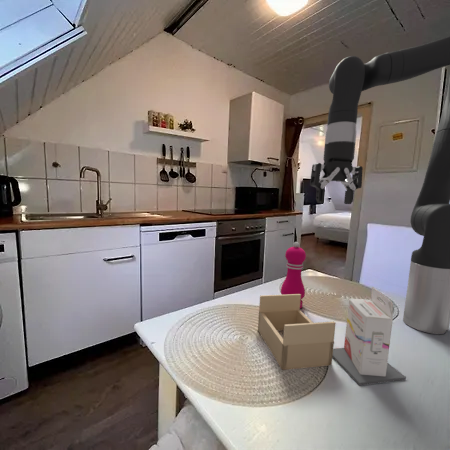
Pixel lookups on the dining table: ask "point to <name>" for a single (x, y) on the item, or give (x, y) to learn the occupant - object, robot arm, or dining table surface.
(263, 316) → the carton
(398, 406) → the dining table surface
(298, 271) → the pepper mill
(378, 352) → the ink cartridge box
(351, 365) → the mat
